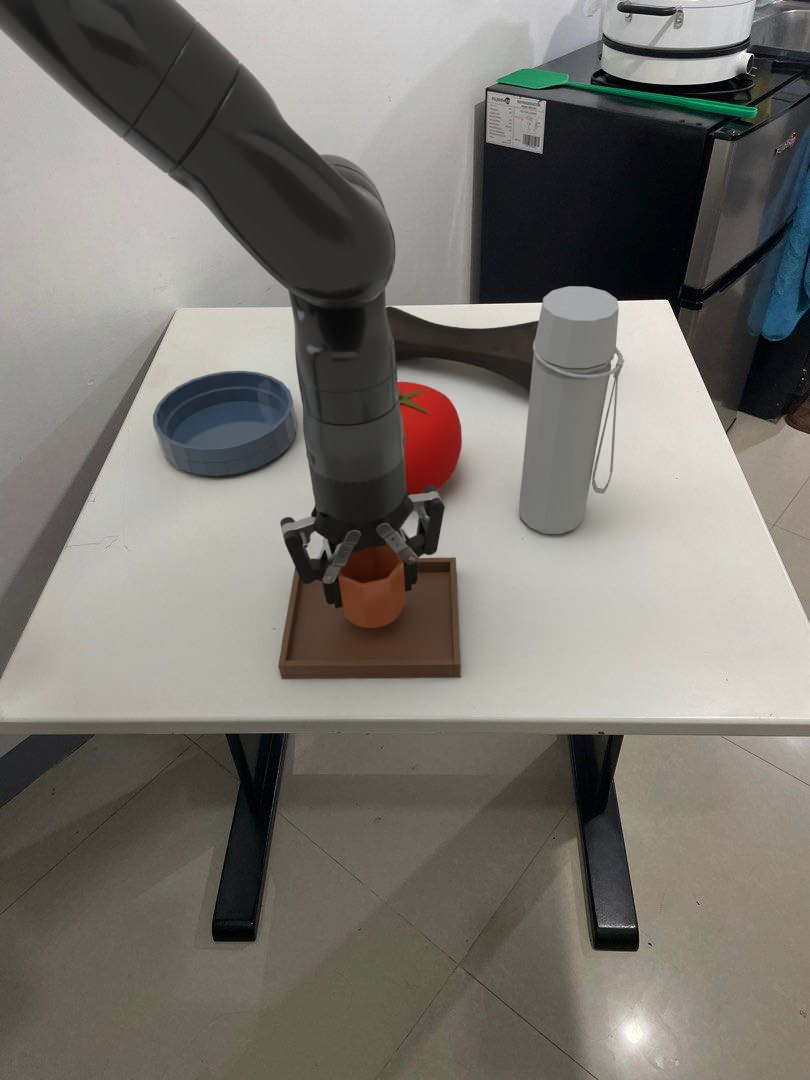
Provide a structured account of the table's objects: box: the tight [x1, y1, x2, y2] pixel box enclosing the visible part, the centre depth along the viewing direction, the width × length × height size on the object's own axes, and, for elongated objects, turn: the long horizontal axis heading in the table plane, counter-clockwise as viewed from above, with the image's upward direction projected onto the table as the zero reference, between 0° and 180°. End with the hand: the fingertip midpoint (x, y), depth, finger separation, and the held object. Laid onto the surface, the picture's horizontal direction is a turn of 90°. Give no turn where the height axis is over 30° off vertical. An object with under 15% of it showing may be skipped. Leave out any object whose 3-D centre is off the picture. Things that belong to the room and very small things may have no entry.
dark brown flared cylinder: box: [386, 305, 539, 392], centre depth 100 cm, size 11×10×28 cm
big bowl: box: [152, 370, 298, 477], centre depth 92 cm, size 17×17×4 cm
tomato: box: [397, 381, 463, 495], centre depth 82 cm, size 13×14×12 cm
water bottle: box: [518, 285, 625, 535], centre depth 72 cm, size 9×8×25 cm
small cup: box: [337, 542, 406, 628], centre depth 67 cm, size 6×6×6 cm
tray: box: [277, 556, 462, 680], centre depth 70 cm, size 16×13×2 cm
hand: (371, 592), depth 68 cm, fingers closed on small cup, 6 cm apart
